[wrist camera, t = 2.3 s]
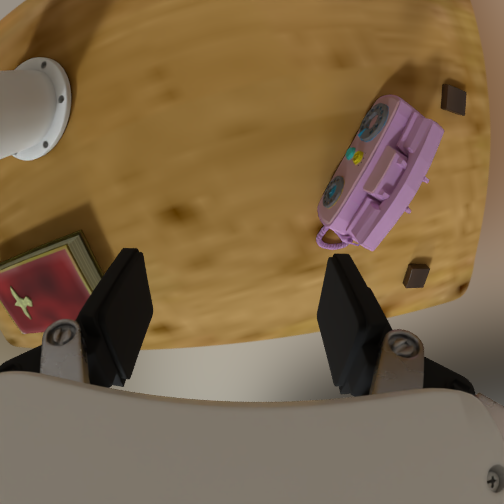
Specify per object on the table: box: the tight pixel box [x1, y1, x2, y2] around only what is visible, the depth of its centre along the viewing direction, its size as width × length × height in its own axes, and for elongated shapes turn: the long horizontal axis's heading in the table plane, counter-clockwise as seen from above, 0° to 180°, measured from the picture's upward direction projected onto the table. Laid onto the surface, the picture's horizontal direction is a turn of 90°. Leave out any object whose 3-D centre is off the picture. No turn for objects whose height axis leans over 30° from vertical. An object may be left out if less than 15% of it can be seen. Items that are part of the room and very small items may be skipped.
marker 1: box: [403, 264, 430, 288], centre depth 34 cm, size 3×3×1 cm
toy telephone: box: [316, 95, 444, 251], centre depth 24 cm, size 18×6×10 cm, turn 155°
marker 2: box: [441, 84, 466, 116], centre depth 23 cm, size 3×3×1 cm
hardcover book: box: [0, 230, 104, 334], centre depth 33 cm, size 12×21×4 cm, turn 104°
